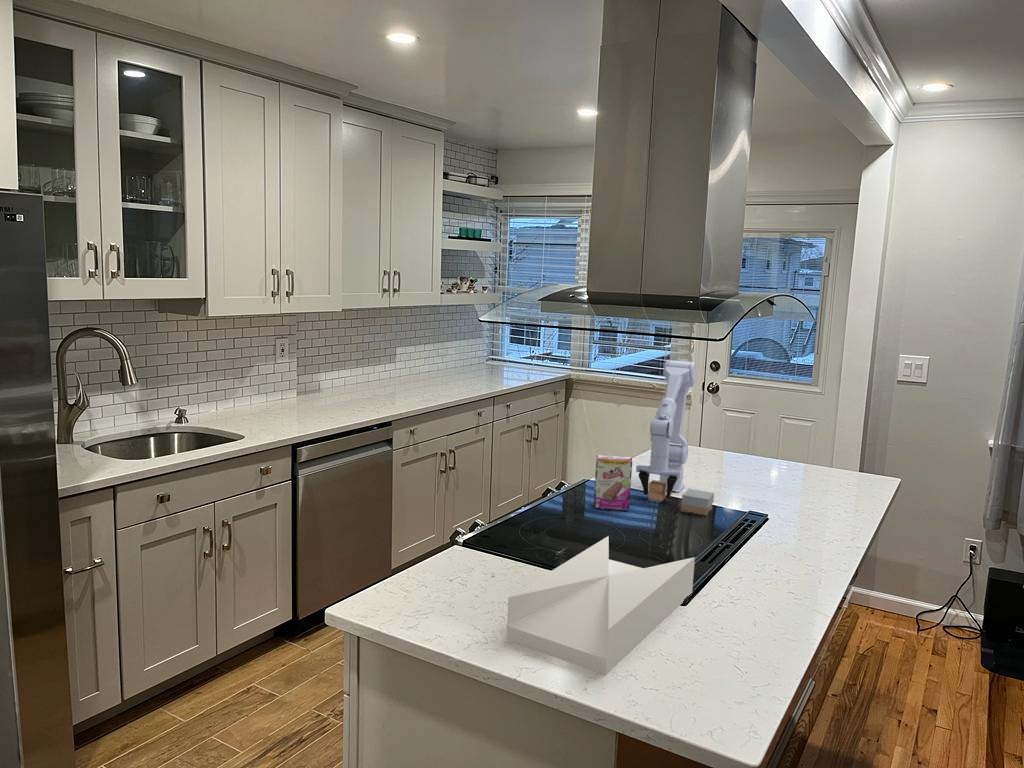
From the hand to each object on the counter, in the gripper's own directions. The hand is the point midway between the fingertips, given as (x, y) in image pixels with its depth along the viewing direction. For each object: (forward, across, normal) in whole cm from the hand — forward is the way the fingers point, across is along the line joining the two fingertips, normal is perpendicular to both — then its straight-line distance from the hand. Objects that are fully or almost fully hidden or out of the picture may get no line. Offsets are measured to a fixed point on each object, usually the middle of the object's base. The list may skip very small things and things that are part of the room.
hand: (656, 496), depth 252 cm
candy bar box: (+2, -10, -16) cm, 19 cm away
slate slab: (-1, +14, -4) cm, 15 cm away
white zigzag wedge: (+2, +14, -88) cm, 89 cm away
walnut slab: (+2, +14, -4) cm, 14 cm away
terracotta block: (+2, 0, 0) cm, 2 cm away
